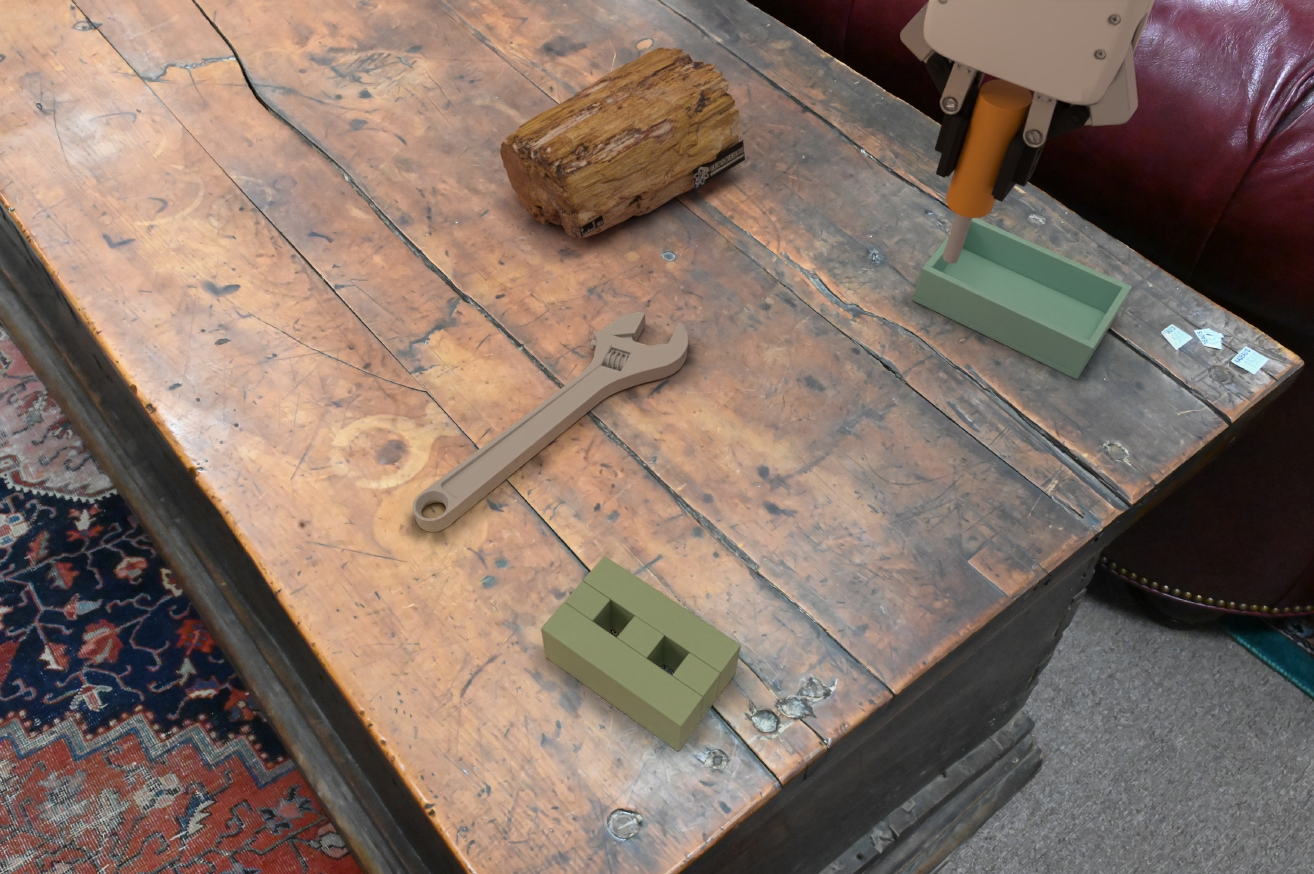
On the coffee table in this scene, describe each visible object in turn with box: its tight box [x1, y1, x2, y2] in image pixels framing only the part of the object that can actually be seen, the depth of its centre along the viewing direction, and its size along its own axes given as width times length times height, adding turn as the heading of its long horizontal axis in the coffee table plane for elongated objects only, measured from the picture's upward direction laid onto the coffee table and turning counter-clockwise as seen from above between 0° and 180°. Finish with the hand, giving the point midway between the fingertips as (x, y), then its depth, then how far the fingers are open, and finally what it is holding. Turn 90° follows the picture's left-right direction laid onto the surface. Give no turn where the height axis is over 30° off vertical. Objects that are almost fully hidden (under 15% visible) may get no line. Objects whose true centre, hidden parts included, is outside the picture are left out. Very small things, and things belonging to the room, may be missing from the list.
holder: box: [540, 555, 742, 752], centre depth 61 cm, size 6×10×4 cm, turn 54°
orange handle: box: [943, 79, 1033, 263], centre depth 60 cm, size 3×3×12 cm
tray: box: [912, 218, 1133, 380], centre depth 81 cm, size 8×14×4 cm, turn 54°
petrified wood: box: [499, 46, 746, 240], centre depth 87 cm, size 19×13×10 cm
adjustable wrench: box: [411, 311, 689, 533], centre depth 74 cm, size 25×6×2 cm, turn 132°
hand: (979, 173), depth 59 cm, fingers closed on orange handle, 2 cm apart
